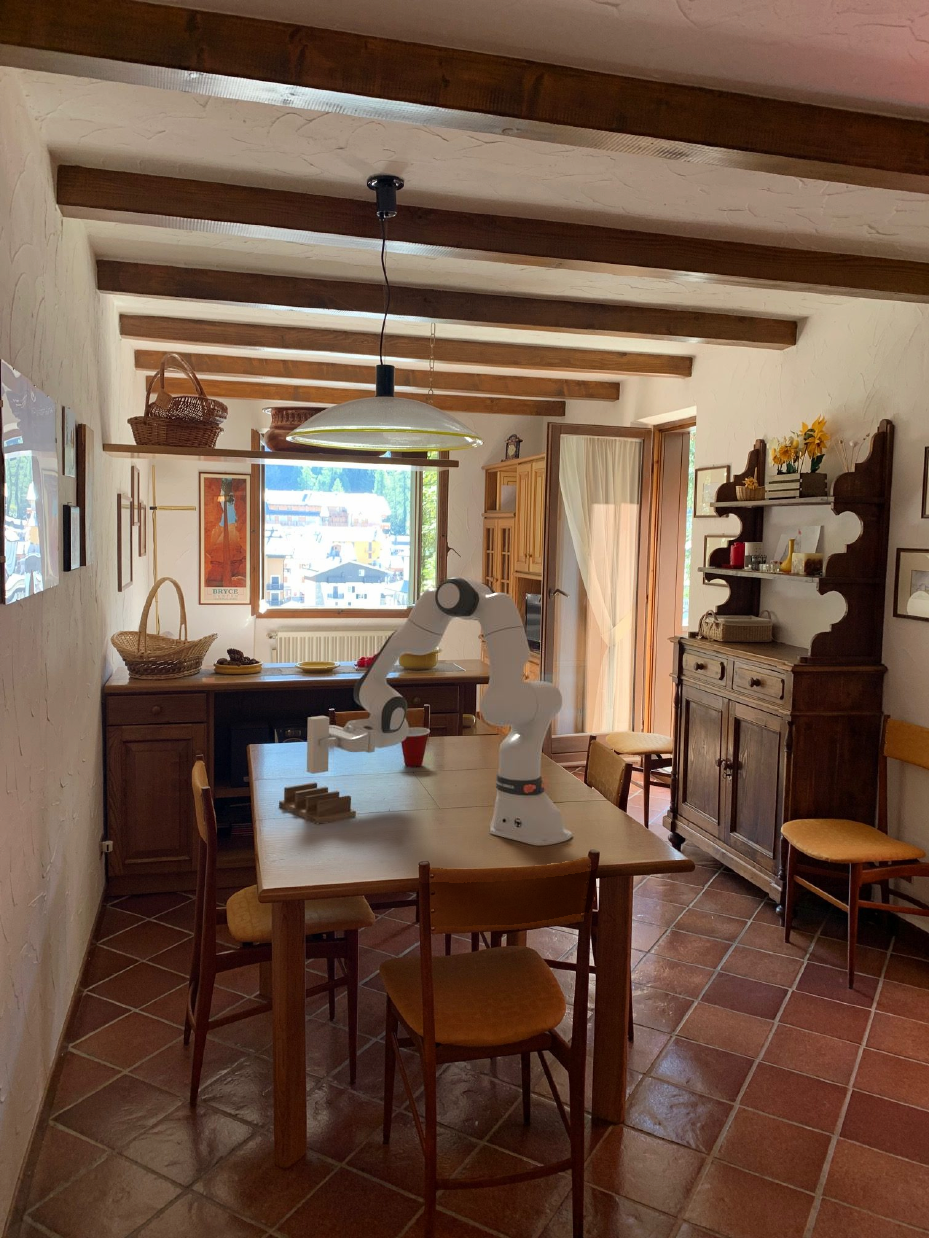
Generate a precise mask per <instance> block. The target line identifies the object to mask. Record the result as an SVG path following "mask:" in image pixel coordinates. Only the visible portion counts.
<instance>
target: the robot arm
mask: <svg viewBox="0 0 929 1238" xmlns="http://www.w3.org/2000/svg"><path fill="white" fill-rule="evenodd" d="M454 618H455V619H456V618H458V619H462V620H465V621H466V620H467V621H478V623H479V625H480V627H481V632H482V635H483V639H484V643H485V647H486V652H487V653H486V654H487V657H488V662H489V680H488V684H487V687H486V689H485V691H484V692H483V694H482V695H481V698H480V702H479V706H480V708H479V709H480V713H481V716H482V717H483V719H484V720H485V722H486V723H488V724H489V725H491V726H496V727H497V726H498V727H511V729H510V730H509V732H508V735H507V736H506V737H505V738H504V739H503V740H502V741H501V743H500V745H499V747H498V748H499V750H498V751H499V752H498V753H499V754H498V772H497V774H496V778H495V779H496V780H495V788H496V789H497V791H496V797H495V802H494V808H493V814H492V819H491V822H490V825H489V827H490V829H489V833H490V834H491V835H494V836H499V837H502V838H505V839H510V840H514V841H516V842H517V841H518V842H521V843H525V844H528V845H532V846H549V845H554V844H560V843H562V842H565V841H568V840H570V839H571V838H572V837H573V832H572V831H570V830H568V829H566V828H564V818H563V813H562V812H561V810H560V809H559V808H558V807H557V806H556V804H555V803H554V802H553V800H551V799H550V797H549V795H548V794H546V793H545V790H546V789H545V788H546V787H548V785H547V784H548V782H547V781H546V782H543V778H542V776H541V764H542V762H541V761H542V760H541V759H542V750H543V745H544V741H545V737H546V735H547V732H548V729H549V727H550V725H551V723H552V721H553V719H554V718H555V717H556V716H557V715H558V714H559V712H560V711H561V709H562V705H563V697H562V693H561V691H560V689H559V688H558V687H557V685H556V684H554V683H552V682H548V681H544V680H543V681H542V680H531V681H525V680H524V678H525V677H524V670H525V669H524V668H525V666H526V665H527V663H528V662H529V661H530V659H531V650H530V646H529V642H528V638H527V635H526V630H525V628H524V623H523V619H522V618H521V614H520V612H519V609H518V607H517V605H516V603H515V601H514V599H513V597H512V596H511V595H509V594H508V593H505V592H496V591H495V590H494V589H493V588H492V587H491V586H490V585H488V584H487V583H485V582H479V581H477V580H475V579H470V578H467V577H466V578H465V577H458V576H455V577H449V578H446V579H444V580H443V581H441V582H440V583H439V584H438V586H437V587H429V588H427V589H426V590H424V591H423V593H422V594H421V595H420V596H419V598H418V600H417V601H416V602H415V604H414V606H413V607H412V609H411V611H410V613H409V616H408V617H407V619H406V621H405V623H404V624H403V625H402V626H401V628H399V629H397V630H395V631H393V632H392V633H391V634H390V635H389V636H388V638H387V639H386V640H385V642H384V643H383V645H382V646H381V648H380V650H378V651H379V652H378V653H377V654H376V656H375V658H373V661H372V662H371V664H370V665H369V667H368V668H367V670H366V671H365V672H364V674H363V675H362V676H361V677H359V679H358V680H357V682H356V683H355V685H354V688H353V699H354V702H355V703H356V704H357V705H359V706H360V707H362V708H363V709H365V710H366V711H367V712H368V713H369V714H370V715H369V717H368V718H361V719H355V720H349V721H347V722H346V723H345V726H343V727H341V726H338V725H334V724H333V725H332V724H329V739H325V738H323V739H319V740H318V742H319V743H318V744H319V745H320V746H329V747H335V748H337V749H341V750H343V751H346V752H348V753H363V752H364V753H369V754H370V753H371V754H372V753H374V752H376V751H375V750H376V748H377V749H381V748H382V749H383V748H389V747H393V746H396V745H398V744H401V742H402V741H404V740H405V739H406V737H407V735H408V731H409V728H410V726H409V723H408V720H407V718H406V715H407V711H408V702H407V700H406V698H404V696H403V695H401V694H400V693H399V692H398V691H397V690H396V689H394V688H393V687H392V686H390V685H389V684H388V682H387V677H388V675H389V674H390V673H391V670H392V669H393V668H394V666H395V664H396V663H397V662H398V660H399V659H400V657H402V656H403V655H405V654H409V655H416V656H423V655H429V654H430V653H432V652H434V651H435V650H436V648H438V647H439V644H440V642H441V641H442V638H443V636H444V634H445V632H446V629H447V628H448V626H449V624H450V623H451V621H452V620H454Z"/></svg>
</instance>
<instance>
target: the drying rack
mask: <svg viewBox="0 0 929 1238" xmlns="http://www.w3.org/2000/svg"><path fill="white" fill-rule="evenodd" d="M283 787H284V786H283ZM283 791H284V795H283V796H284V797H283V800H279V801H278V807H279V808H281V809H284V810H286V811H287V812H290V813H292V814H294V815H296V816H299V817H301V818H303V817H304V818H303V819H305V818H306V819H305V820H307V819H308V821H310V822H312V823H314V822H315V823H314V824H316V823H322V824H325V822H327V823H331V822H335V820H336V821H340V820H341V821H342V820H345V819H344V818H346V819H349V818H350V817H351V818H355V816H357V810H354V809H352V807H351V806H352V805H351V804H352V796H351V795H344V796H340V791H338V790H336V791H335V790H334V791H330V792H329V787H328V786H320V787H318V782H315V781H314V782H309V783H302V784H298V785H292V786H291V785H290V786H285V787H284V790H283Z"/></svg>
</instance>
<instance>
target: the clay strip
mask: <svg viewBox="0 0 929 1238" xmlns="http://www.w3.org/2000/svg"><path fill="white" fill-rule="evenodd" d="M329 725H330V717H329V716H325V715H318V716H311V717H307V732H306V733H307V735H306V736H307V740H306V741H307V742H306V743H307V744H306V749H307V750H306V772H307V773H310V774H319V773H325V772H329V755H330V754H329V751H330V750H329V749H330V748H329V747H330V746H320V745H319V744H318V743H319V742H318V740H319V739H323V738H325V739H329Z"/></svg>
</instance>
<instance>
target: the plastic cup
mask: <svg viewBox="0 0 929 1238" xmlns="http://www.w3.org/2000/svg"><path fill="white" fill-rule="evenodd" d="M430 733H431V730H430V729H429V728H427V727H409V731H408V735H407V737H406V739H405V740H404V741H402V742H400V744H401V751H402V755H403V762H404V765H406V766H405V767H408V766H413V767H412V768H416V767H415V766H420V767H421V765H423V762H424V757H425V752H426V748H427V747H426V746H427V741H428V739H429V738H428V737H429V735H430Z"/></svg>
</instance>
